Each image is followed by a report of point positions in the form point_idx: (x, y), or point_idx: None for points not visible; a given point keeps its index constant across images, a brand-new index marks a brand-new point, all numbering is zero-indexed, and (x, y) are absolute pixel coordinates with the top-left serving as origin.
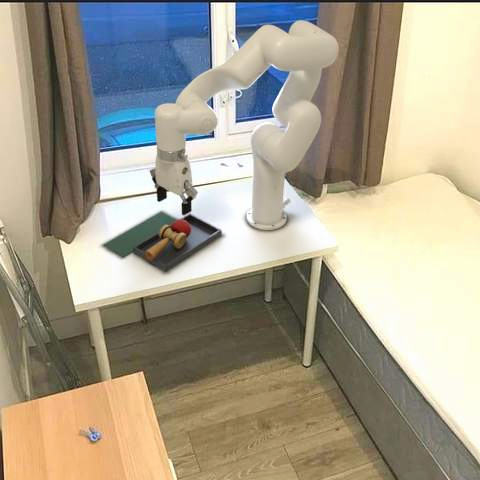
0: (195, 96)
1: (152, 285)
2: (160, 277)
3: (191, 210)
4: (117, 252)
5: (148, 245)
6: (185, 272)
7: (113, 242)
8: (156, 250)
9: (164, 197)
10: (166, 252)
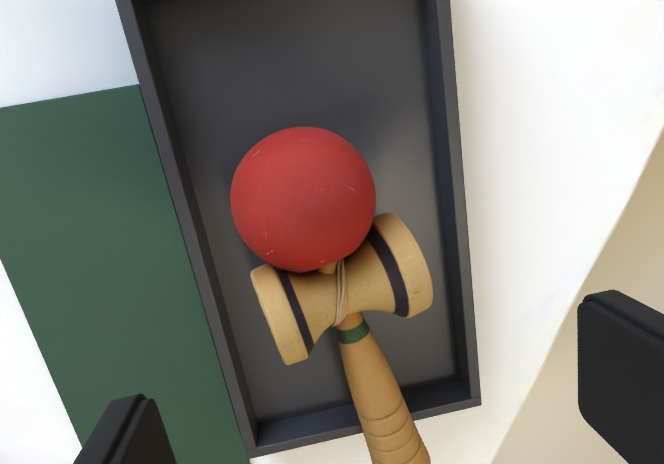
0: None
1: (491, 456)
2: (475, 412)
3: (615, 291)
4: None
5: (245, 358)
6: (527, 314)
7: None
8: (415, 439)
9: (158, 455)
10: None
